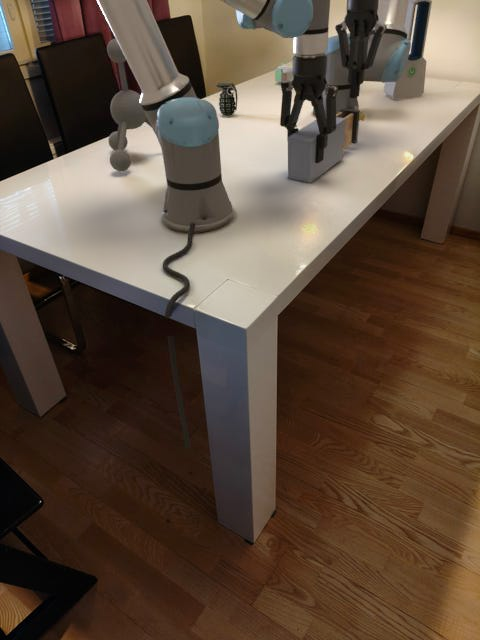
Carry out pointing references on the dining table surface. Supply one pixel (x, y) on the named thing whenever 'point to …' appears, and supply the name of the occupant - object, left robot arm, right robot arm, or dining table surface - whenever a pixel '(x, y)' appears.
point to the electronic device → (413, 54)
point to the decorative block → (284, 72)
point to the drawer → (351, 125)
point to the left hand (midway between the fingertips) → (306, 158)
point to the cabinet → (314, 151)
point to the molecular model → (123, 112)
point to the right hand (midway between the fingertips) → (354, 96)
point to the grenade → (227, 99)
